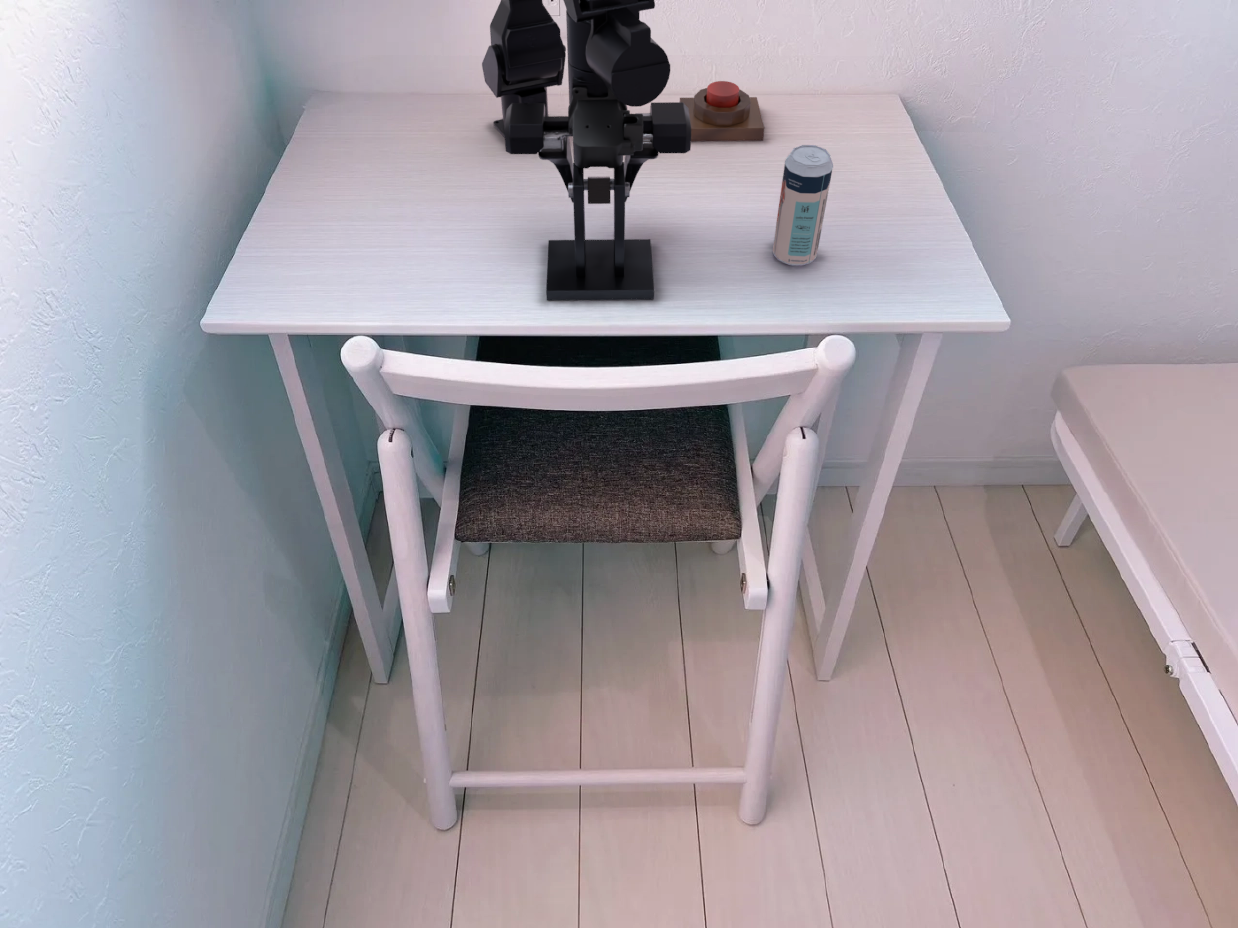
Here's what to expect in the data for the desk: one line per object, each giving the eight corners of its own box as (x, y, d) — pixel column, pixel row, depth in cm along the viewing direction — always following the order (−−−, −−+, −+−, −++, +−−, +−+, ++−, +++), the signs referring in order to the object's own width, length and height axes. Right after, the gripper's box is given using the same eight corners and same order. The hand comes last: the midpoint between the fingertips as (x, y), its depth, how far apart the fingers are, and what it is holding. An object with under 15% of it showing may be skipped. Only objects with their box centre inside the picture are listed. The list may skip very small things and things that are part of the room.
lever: (575, 196, 106) (575, 172, 105) (622, 195, 106) (621, 172, 105) (573, 204, 95) (572, 178, 94) (624, 203, 95) (624, 178, 95)
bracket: (549, 249, 107) (543, 150, 98) (650, 248, 107) (653, 149, 98) (546, 300, 100) (540, 199, 92) (653, 299, 101) (657, 198, 92)
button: (707, 109, 121) (708, 96, 120) (704, 94, 124) (705, 81, 123) (739, 109, 122) (741, 96, 120) (736, 94, 124) (737, 80, 123)
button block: (683, 141, 122) (684, 114, 120) (679, 110, 128) (680, 84, 125) (762, 140, 122) (766, 114, 120) (755, 109, 128) (758, 83, 125)
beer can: (797, 238, 108) (813, 138, 99) (825, 260, 105) (845, 158, 97) (762, 252, 106) (776, 151, 98) (791, 274, 104) (807, 172, 95)
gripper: (495, 100, 89) (508, 244, 101) (699, 99, 89) (689, 243, 101) (502, 45, 97) (514, 186, 108) (691, 45, 97) (682, 185, 108)
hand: (598, 200), depth 106 cm, fingers closed on lever, 5 cm apart
